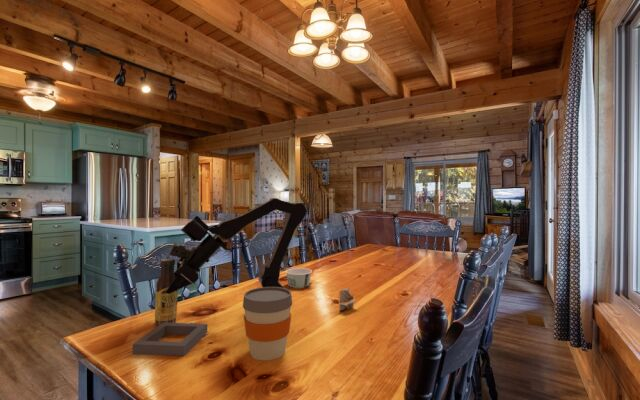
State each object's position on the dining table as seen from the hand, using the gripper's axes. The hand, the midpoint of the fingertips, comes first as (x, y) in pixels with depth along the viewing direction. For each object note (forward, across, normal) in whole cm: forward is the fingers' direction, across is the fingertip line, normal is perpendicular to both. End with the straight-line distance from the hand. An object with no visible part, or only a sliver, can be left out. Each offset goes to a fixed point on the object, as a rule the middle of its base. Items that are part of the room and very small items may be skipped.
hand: (167, 288), depth 98 cm
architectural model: (-32, +12, +49) cm, 60 cm away
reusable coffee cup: (-9, +30, +25) cm, 40 cm away
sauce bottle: (+8, 0, +8) cm, 11 cm away
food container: (-29, -23, +45) cm, 58 cm away
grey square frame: (+6, +15, +9) cm, 18 cm away
